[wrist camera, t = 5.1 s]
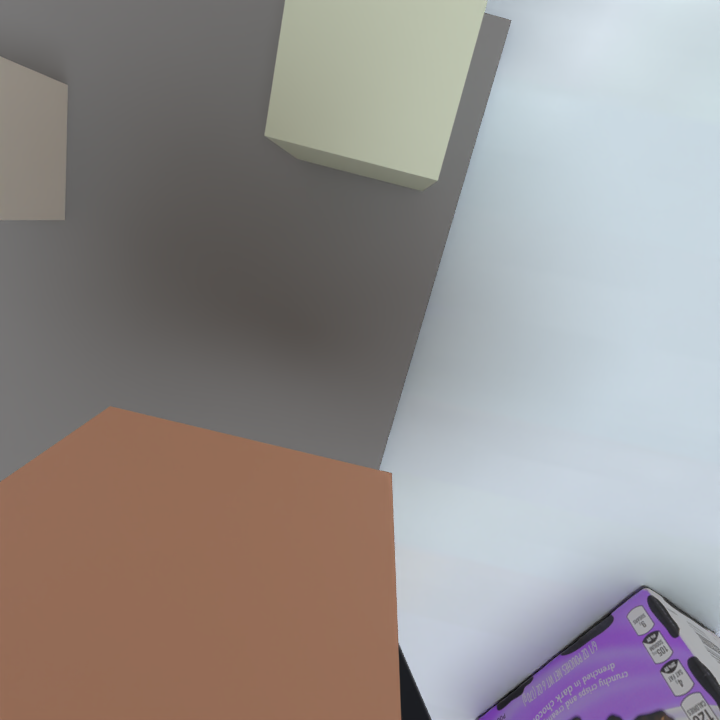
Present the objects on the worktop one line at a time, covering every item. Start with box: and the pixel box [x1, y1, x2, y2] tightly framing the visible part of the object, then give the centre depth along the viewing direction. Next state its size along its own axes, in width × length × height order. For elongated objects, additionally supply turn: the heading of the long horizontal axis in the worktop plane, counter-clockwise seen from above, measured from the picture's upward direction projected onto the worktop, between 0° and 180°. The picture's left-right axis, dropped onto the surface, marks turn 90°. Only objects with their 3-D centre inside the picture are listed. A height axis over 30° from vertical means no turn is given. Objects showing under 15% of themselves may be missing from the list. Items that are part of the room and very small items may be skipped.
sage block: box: [264, 0, 488, 191], centre depth 14 cm, size 5×5×5 cm
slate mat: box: [0, 0, 511, 482], centre depth 19 cm, size 27×21×1 cm
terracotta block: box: [0, 406, 401, 720], centre depth 6 cm, size 5×5×5 cm
